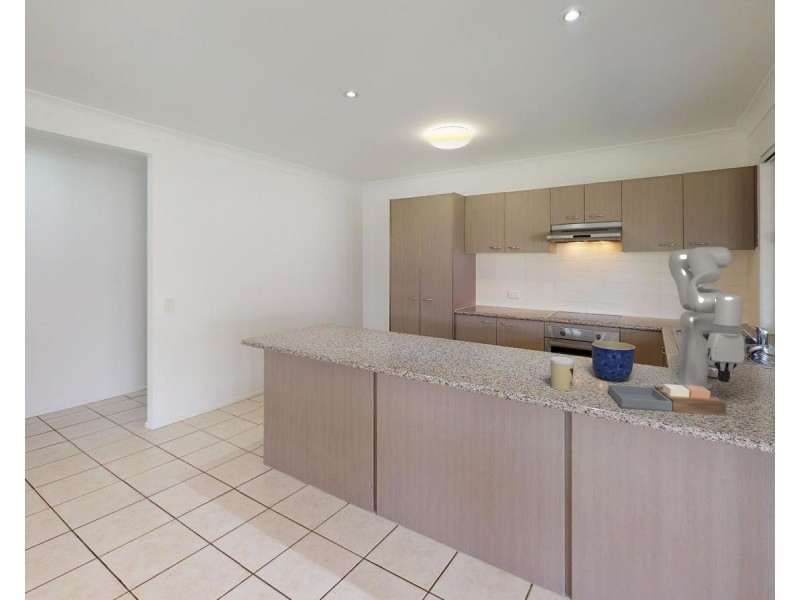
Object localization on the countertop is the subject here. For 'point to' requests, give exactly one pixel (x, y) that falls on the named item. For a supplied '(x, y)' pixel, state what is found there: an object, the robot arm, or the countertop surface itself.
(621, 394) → the tray
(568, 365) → the coffee cup
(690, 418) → the countertop surface
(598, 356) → the planter
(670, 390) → the cream tile
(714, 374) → the plastic bottle
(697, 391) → the terracotta tile
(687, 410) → the walnut board
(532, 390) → the countertop surface
